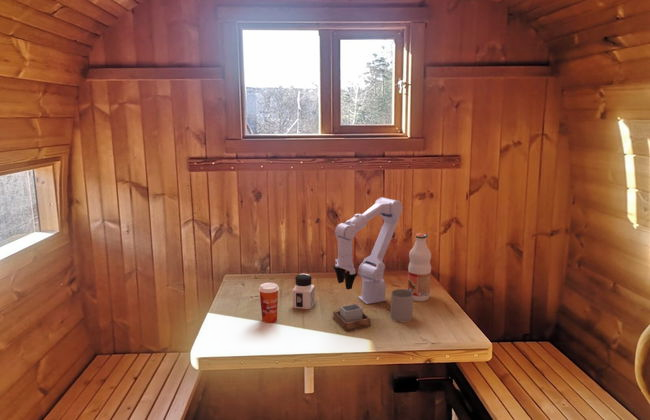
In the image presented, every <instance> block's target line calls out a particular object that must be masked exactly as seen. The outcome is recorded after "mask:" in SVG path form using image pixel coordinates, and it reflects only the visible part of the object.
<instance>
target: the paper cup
mask: <svg viewBox="0 0 650 420" xmlns="http://www.w3.org/2000/svg"><path fill="white" fill-rule="evenodd" d="M279 290H280V287H279V285H278V284H277V283H275V282H263V283H262V284H260V285H259V288H258V291H259V299H260V300H259V301H260V309H261V310H260V311H261V320H262V321H263V323H267V324H272V323H276V322H277V320H278V307H279V306H278V302H279Z"/></svg>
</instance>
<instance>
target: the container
mask: <svg viewBox="0 0 650 420" xmlns="http://www.w3.org/2000/svg"><path fill="white" fill-rule="evenodd" d="M294 278H295V286H294V287H293V289H292V291H291V292H292V295H291V298H292V304H291V305H292V308H293V309H302V310H303V309H304V310H311V309H312V307H313V306H314V304H315V302H316V301H315V299H316V298H315V297H316V294H315V284H312V276H311V274H307V273H300V274H299V273H298V274H297V275H296V276H295V277H294Z"/></svg>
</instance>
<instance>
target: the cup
mask: <svg viewBox="0 0 650 420" xmlns="http://www.w3.org/2000/svg"><path fill="white" fill-rule="evenodd" d="M390 298H391V300H390V301H391V302H390V318H391V319H392V320H394V321H396V322H400V323H405V322H406V323H407V322H411V320H413V309H414V307H413V306H414V305H413V304H414V300H413V292H411V291H409V290H408V289H405V288H404V289H403V288H399V289H398V288H397V289H393V290H392V291H391V296H390Z"/></svg>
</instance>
